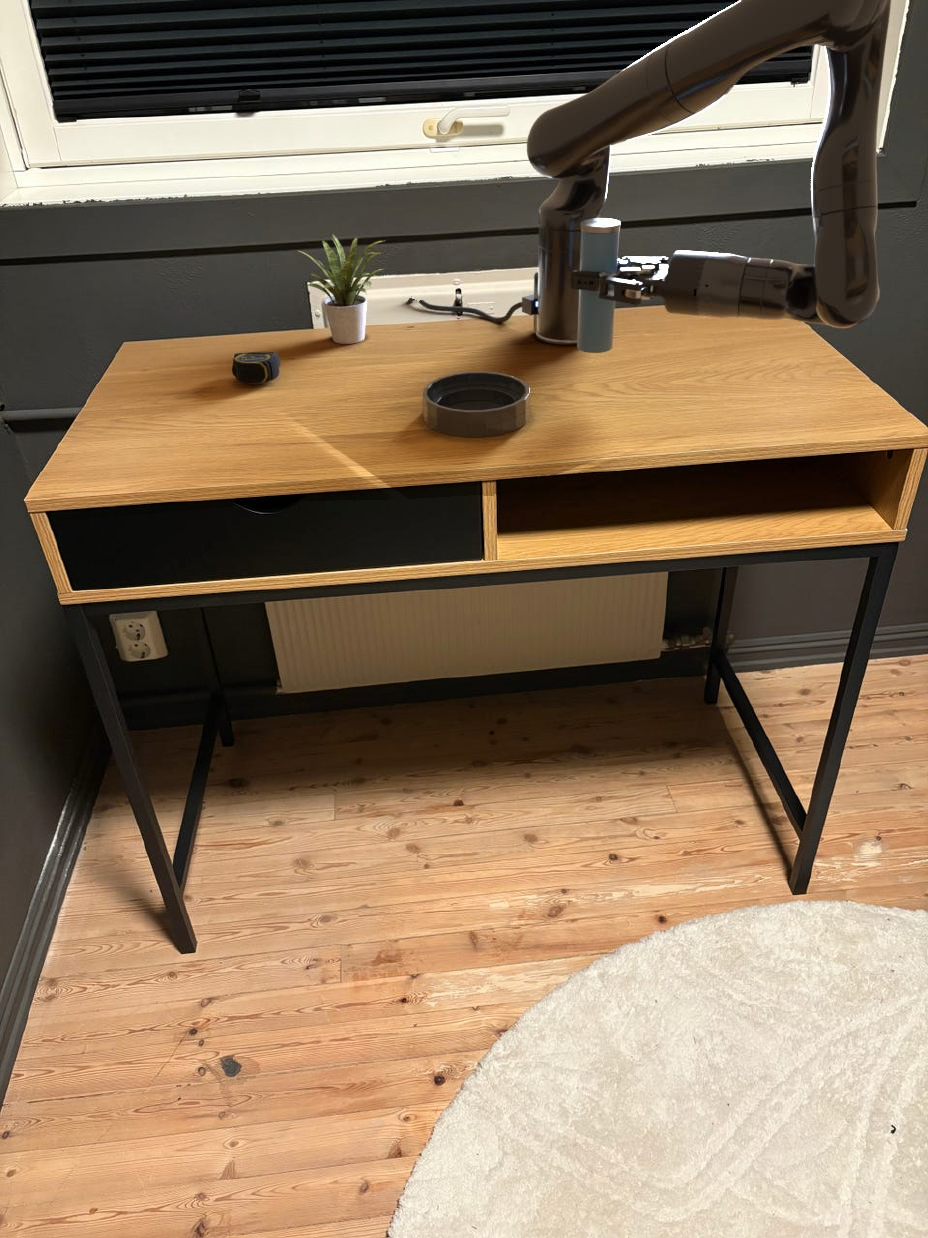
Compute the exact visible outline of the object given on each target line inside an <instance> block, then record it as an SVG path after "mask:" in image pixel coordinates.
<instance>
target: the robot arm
mask: <svg viewBox="0 0 928 1238" xmlns="http://www.w3.org/2000/svg"><path fill="white" fill-rule="evenodd" d="M891 8H892V0H738V1H737V2H735V3H734V4H731V5H730V6H728V7H726V8H725V9H723V10H721V11H719V12H717V13H716V14H713V15H712V16H709V18H708V17H707V19H705V20H702V22H700V23H698V24H697V25H695V26H693V27H691V28H689V29H688V30H685V31H684V32H682V33H680V34H678V35H677V36H674V37H673V38H671V39H669V40H668V41H667V42H665V43H663V44H661V45H660V46H658V47H656V48H655V49H653V50H652V51H651V52H649V53H647V54H646V55H644V56H643V57H641V58H640V59H638V60H636V61H635V62H633V63H632V64H630V65H629V66H627V67H626V68H624V69H622V70H621V71H620V72H618V73H617V74H615V75H614V76H612V77H611V78H609V79H608V80H606V81H605V82H604V83H602V84H600V85H599V86H597V87H596V88H595V89H593V90H591V91H589V92H587V93H585V94H582V95H581V96H579V97H577V98H576V97H575V99H572V100H569V101H568V102H565V103H563V104H561V105H558V106H555V107H552V108H550V109H547V110H545V111H544V112H543V113H541V114H540V115H539V116H538V117H537V118H536V119H535V121H534V122H533V124H532V126H531V127H530V129H529V133H528V136H527V140H526V154H527V158H528V161H529V163H530V165H531V166H532V168H533V169H534V170H535V171H536V172H537V173H539V174H540V175H541V176H543V177H545V178H549V179H555V180H558V183H557V185H556V187H555V188H554V190H553V192H552V193H551V194H550V195H549V196H548V197H547V198H546V199H545V200H543V202H542V203H541V204H540V206H539V209H538V254H537V255H538V257H537V259H538V260H537V271H536V272H535V273H534V274H533V294H528V295H525V296H522V297H521V301H520V302H517V303H515V304H513V305H512V306H511V307H510V308H509V309H508V311H507V312H506V314H505V315H504V316H502V317H501V316H500V317H496V316H493V315H490V314H488V313H486V312H485V311H483V310H481V309H477V308H474V307H468V306H453V305H452V306H450V305H449V306H448V305H437V304H431V303H428V302H426V301H425V300H424V299H423V300H420V301H419V302H418V301H417V300H415V299H412V298H410V297H409V298H408V299H407V301H406V303H407V304H412V303H413V302H414V301H416V302H418V304H420V305H421V306H422V307H424V308H426V309H428V310H432V311H437V312H438V311H439V312H452V313H453V312H454V313H466V314H467V313H468V314H474V315H476V316H479V317H481V318H482V319H486V320H487V321H491V322H494V323H499V324H501V323H505V322H507V321H509V320H510V319H511V317H512V316H513V314H514V313H515V311H517V310H519V309H520V308H521V312H522V313H524V314H526V315H528V316H533V319H532V321H533V322H532V324H533V325H532V326H533V327H532V332H533V333H534V334H535V335H536V338H537V339H538V340H540V341H541V342H545V343H547V344H548V343H549V344H553V345H566V346H567V345H577V337H578V309H579V290H590V291H598V298H601V299H607V300H612V301H615V302H618V303H624V304H630V305H634V306H638V305H641V304H642V301H649V300H653V298H662V299H663V302H664V308H665V311H666V312H667V313H669V314H673V315H674V314H675V315H683V316H684V315H685V316H695V317H706V318H715V319H729V318H730V319H731V318H738V319H739V318H740V319H748V320H757V321H760V320H761V321H783V320H784V321H785V320H788V321H789V320H791V321H797V322H804V323H810V324H817V325H818V324H819V325H825V326H826V325H827V326H830V327H832V328H837V329H848V328H852V327H856V326H857V325H860V324H861V323H863V322H865V321H867V320H868V319H869V318H870V317H871V316H872V315H873V313H874V312H875V311H876V309H877V308H878V304H879V302H880V298H881V289H880V285H879V276H878V261H877V247H876V244H877V243H876V231H877V226H878V225H877V224H878V212H879V211H878V172H877V171H878V170H877V169H878V168H877V167H878V166H877V145H878V143H877V139H878V120H879V108H880V99H881V91H882V90H881V88H882V81H883V72H884V63H885V53H886V47H887V39H888V31H889V23H890V16H891ZM811 45H812V46H820V47H824V51H825V57H826V63H827V71H828V95H827V96H828V97H827V104H826V109H825V115H824V117H823V118H824V119H823V123H822V125H821V130H820V133H819V137H818V140H817V143H816V147H815V151H814V155H813V162H812V167H811V179H810V180H811V181H810V182H811V183H810V186H811V187H810V191H811V213H812V214H811V217H812V229H813V237H814V256H813V259H814V260H813V264H798V263H796V262H795V263H794V262H792V261H791V262H790V261H786V260H781V259H772V258H759V257H748V256H743V255H742V256H741V255H737V254H733V253H722V252H721V253H719V252H708V251H695V250H694V251H693V250H676V251H675V252H673V254H672V255H671V257H670V260H669V257H666V256H628V255H626V256H623V257H621V258H622V259H620V258H618V263H617V272H601V273H600V272H592V271H580V252H581V222H582V221H584V220H588V219H595V218H601V214H602V211H603V208H604V206H605V203H606V200H607V194H608V184H609V175H610V165H611V155H612V146H614V145H617V144H620V143H623V142H628V141H632V140H635V139H639V138H642V137H645V136H648V135H652V134H655V133H658V132H660V131H663V130H666V129H669V128H671V127H674V126H676V125H679V124H681V123H683V122H685V121H687V120H689V119H691V118H693V117H695V116H697V115H699V114H701V113H703V112H705V111H707V110H708V109H710V108H712V107H713V106H715V105H716V104H718V103H719V102H720V101H721V100H722V99H724V98H725V97H726V96H727V95H728V93H729V92H731V90H732V89H733V88H734V86H735V85H736V84H737V83H738V82H739V81H740V80H741V78H742V77H743V76H744V75H745V74H746V73H747V72H749V71H750V70H751V69H753V68H754V67H756V66H758V65H760V64H761V63H763V62H765V61H768V60H770V59H773V58H775V57H777V56H779V55H781V54H783V53H784V54H785V53H786V52H789V51H791V50H794V49H797V48H800V47H803V46H811ZM609 284H613V285H614V288H609Z"/></svg>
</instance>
